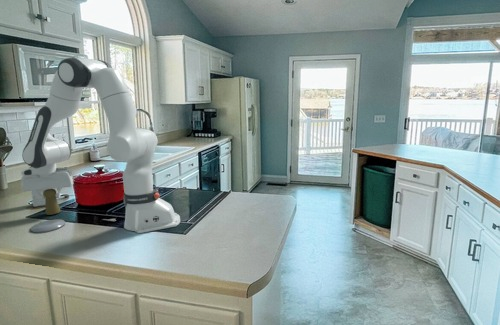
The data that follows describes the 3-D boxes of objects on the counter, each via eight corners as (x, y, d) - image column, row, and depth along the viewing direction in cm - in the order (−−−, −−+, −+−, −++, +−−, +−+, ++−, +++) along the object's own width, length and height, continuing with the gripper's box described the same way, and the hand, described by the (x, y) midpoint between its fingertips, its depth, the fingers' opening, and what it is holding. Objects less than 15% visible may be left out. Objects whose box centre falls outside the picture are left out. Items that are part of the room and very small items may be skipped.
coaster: (68, 219, 141) (68, 218, 141) (59, 230, 130) (59, 228, 130) (38, 223, 139) (37, 221, 138) (26, 234, 127) (25, 232, 127)
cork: (53, 214, 146) (49, 191, 143) (42, 214, 147) (38, 191, 145) (63, 210, 152) (59, 187, 149) (52, 209, 153) (48, 187, 151)
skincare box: (33, 207, 159) (28, 177, 156) (35, 203, 165) (31, 175, 162) (52, 204, 163) (48, 175, 159) (54, 201, 168) (50, 173, 165)
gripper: (72, 165, 150) (77, 193, 153) (23, 169, 146) (28, 198, 149) (68, 168, 144) (73, 197, 147) (16, 172, 140) (22, 202, 143)
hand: (50, 198), depth 148 cm, fingers closed on cork, 5 cm apart
